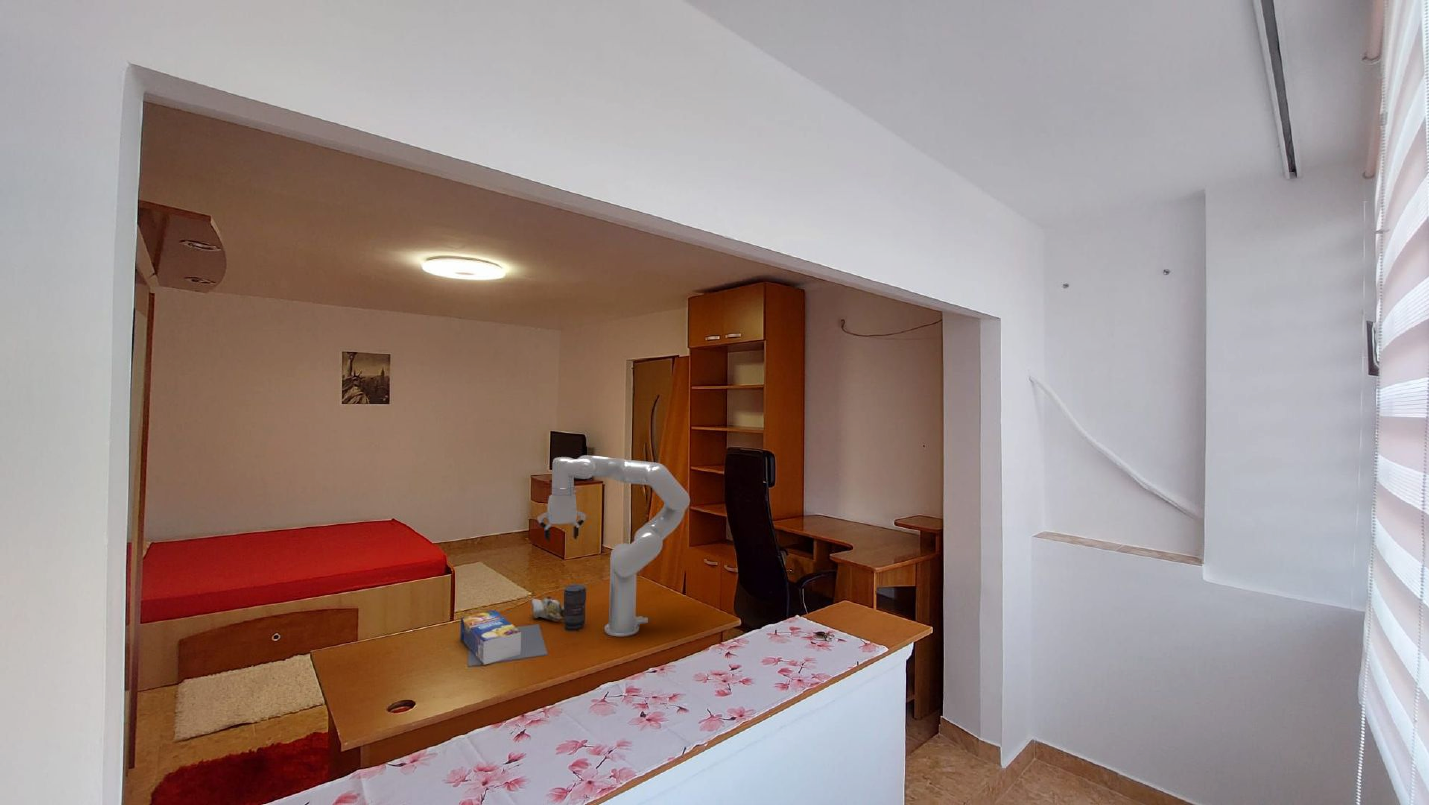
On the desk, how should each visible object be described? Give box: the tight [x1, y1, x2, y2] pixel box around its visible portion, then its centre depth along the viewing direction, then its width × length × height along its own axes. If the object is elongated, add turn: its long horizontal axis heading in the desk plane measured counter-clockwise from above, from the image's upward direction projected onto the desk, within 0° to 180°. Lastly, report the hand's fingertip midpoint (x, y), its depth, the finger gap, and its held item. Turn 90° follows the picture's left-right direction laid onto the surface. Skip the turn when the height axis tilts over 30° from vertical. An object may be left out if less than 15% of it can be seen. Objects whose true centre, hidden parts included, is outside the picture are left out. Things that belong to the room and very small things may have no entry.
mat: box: [467, 623, 548, 668], centre depth 194 cm, size 24×26×1 cm
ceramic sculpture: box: [531, 596, 564, 622], centre depth 217 cm, size 11×9×15 cm
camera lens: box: [562, 584, 587, 632], centre depth 209 cm, size 8×8×15 cm
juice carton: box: [459, 609, 521, 666], centre depth 191 cm, size 12×8×24 cm
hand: (561, 539), depth 203 cm, fingers open, 9 cm apart
